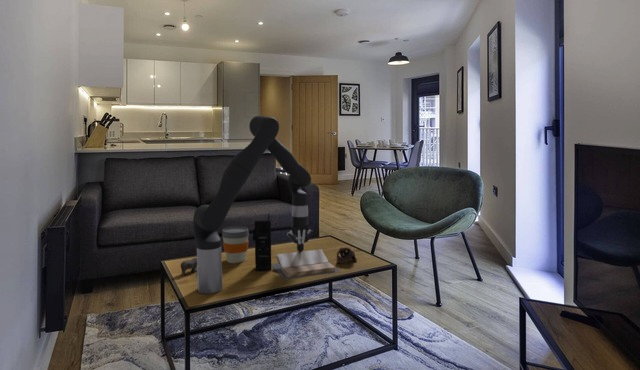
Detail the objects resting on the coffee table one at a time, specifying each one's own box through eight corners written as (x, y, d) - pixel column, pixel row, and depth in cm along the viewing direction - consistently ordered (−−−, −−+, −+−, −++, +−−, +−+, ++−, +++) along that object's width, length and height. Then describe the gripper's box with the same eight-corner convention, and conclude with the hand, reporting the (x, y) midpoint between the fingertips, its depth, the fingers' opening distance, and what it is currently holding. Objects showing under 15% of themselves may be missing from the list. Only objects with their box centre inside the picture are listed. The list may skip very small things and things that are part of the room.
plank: (281, 270, 189) (282, 267, 188) (276, 257, 196) (276, 254, 195) (327, 264, 197) (328, 261, 197) (321, 252, 204) (321, 249, 204)
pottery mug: (361, 264, 202) (357, 252, 197) (344, 275, 199) (339, 262, 195) (349, 252, 211) (344, 239, 207) (333, 262, 209) (328, 249, 205)
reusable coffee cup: (252, 256, 212) (251, 226, 210) (245, 264, 200) (244, 233, 198) (227, 256, 213) (226, 226, 211) (219, 263, 201) (218, 232, 199)
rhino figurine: (208, 268, 195) (208, 255, 194) (184, 276, 184) (183, 263, 183) (202, 266, 197) (201, 253, 197) (177, 274, 186) (177, 261, 185)
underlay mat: (284, 280, 179) (284, 279, 179) (270, 264, 199) (270, 264, 199) (341, 272, 189) (341, 271, 189) (321, 258, 209) (321, 257, 209)
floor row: (287, 277, 182) (287, 273, 181) (282, 272, 188) (282, 268, 188) (335, 271, 190) (335, 267, 190) (328, 266, 196) (328, 262, 196)
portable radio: (253, 272, 189) (252, 216, 186) (253, 267, 195) (252, 213, 192) (271, 271, 191) (270, 215, 187) (270, 266, 197) (269, 212, 193)
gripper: (288, 217, 191) (289, 255, 193) (316, 215, 196) (316, 252, 198) (283, 214, 197) (284, 251, 200) (310, 212, 202) (310, 247, 205)
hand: (300, 251), depth 199 cm, fingers closed
